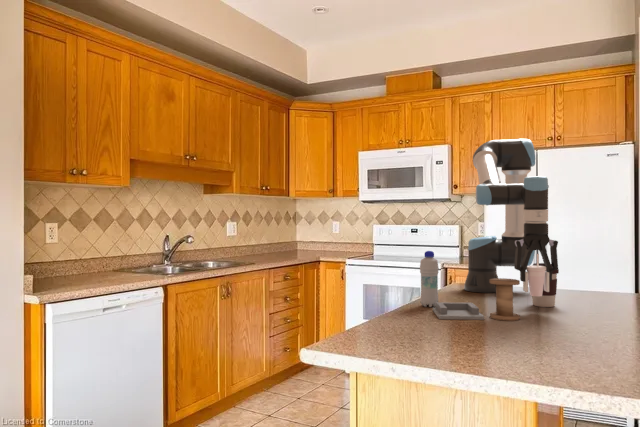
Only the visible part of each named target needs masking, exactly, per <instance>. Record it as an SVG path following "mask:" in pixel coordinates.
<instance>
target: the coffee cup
mask: <svg viewBox="0 0 640 427" xmlns="http://www.w3.org/2000/svg"><path fill="white" fill-rule="evenodd" d="M531 266H537V262H536V263H532V264H531ZM539 266H545V265H544V262H541V263H539ZM551 267H552V266H551ZM559 270H560V269H559V268H558V270H554V271H553V272H552V281H549V292H546V291H544V285H543V293H542V296H531V298H532V300H531V301H532V305H533V306H535V307H540V308H553V307H555V305H556V295H557V287H558V278H557V276H558V275H557V274H559V273H560V272H559ZM545 271H547V270H545Z"/></svg>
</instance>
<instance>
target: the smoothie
mask: <svg viewBox="0 0 640 427" xmlns="http://www.w3.org/2000/svg"><path fill="white" fill-rule="evenodd" d="M539 258H540V256H539V253H536V263H537V266H532V265H530V266H527V268H526V272H528V291H529V295H530V296H531V297H532V296H542V293H543V285H544V278H545V270H546V267H545V266H539V261H540V259H539Z"/></svg>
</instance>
